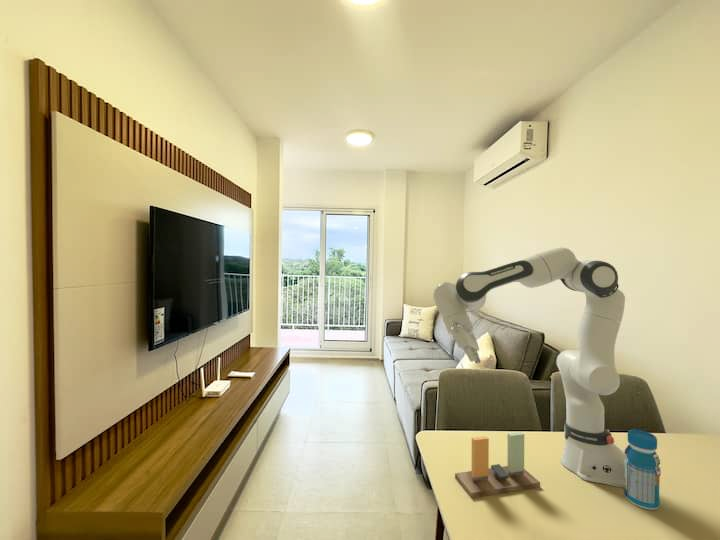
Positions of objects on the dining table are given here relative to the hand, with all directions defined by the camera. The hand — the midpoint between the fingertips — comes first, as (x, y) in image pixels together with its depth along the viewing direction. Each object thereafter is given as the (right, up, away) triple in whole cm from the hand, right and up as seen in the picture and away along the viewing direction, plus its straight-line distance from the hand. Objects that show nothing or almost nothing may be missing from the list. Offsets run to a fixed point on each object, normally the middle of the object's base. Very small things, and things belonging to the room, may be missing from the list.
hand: (476, 362), depth 114 cm
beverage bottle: (+45, -38, -13) cm, 60 cm away
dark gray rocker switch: (+6, -36, -4) cm, 37 cm away
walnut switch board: (+5, -37, -5) cm, 38 cm away
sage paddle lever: (+12, -35, -3) cm, 37 cm away
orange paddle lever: (-1, -35, -6) cm, 36 cm away
